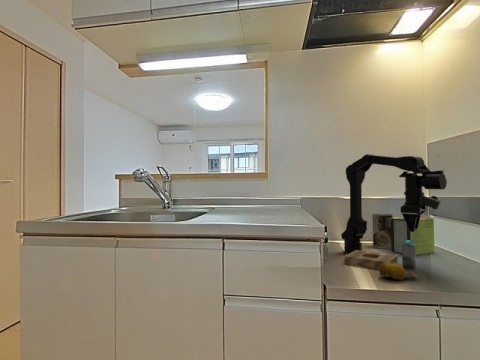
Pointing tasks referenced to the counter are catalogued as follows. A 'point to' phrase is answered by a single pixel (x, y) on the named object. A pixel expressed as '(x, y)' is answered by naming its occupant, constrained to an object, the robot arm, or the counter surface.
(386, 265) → the fruit
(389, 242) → the coffee box
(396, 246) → the protein box
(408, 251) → the grey and teal cylinder
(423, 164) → the robot arm
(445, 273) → the counter surface
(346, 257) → the dock
